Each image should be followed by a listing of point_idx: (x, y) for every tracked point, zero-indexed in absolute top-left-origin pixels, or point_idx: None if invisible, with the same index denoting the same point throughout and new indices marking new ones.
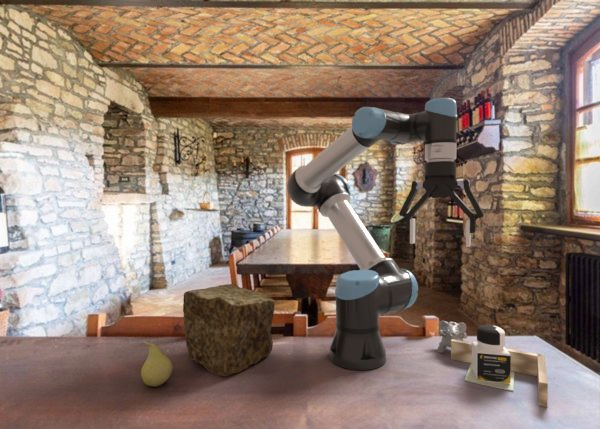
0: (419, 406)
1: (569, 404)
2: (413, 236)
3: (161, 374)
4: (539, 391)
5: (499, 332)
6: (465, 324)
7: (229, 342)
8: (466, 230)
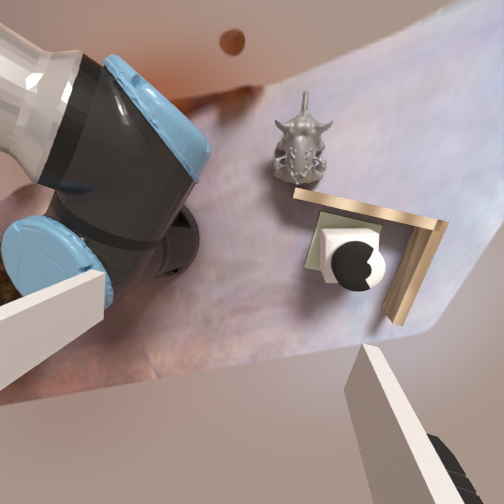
0: (248, 336)
1: (422, 297)
2: (73, 325)
3: None
4: (388, 317)
5: (371, 287)
6: (331, 122)
7: None
8: (371, 486)
